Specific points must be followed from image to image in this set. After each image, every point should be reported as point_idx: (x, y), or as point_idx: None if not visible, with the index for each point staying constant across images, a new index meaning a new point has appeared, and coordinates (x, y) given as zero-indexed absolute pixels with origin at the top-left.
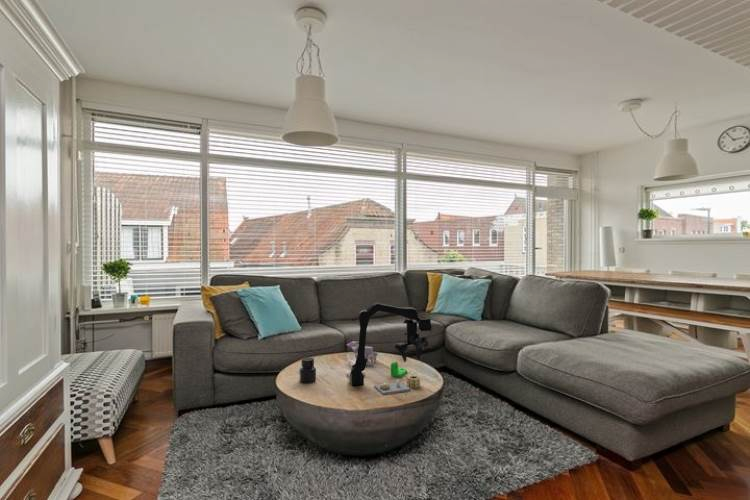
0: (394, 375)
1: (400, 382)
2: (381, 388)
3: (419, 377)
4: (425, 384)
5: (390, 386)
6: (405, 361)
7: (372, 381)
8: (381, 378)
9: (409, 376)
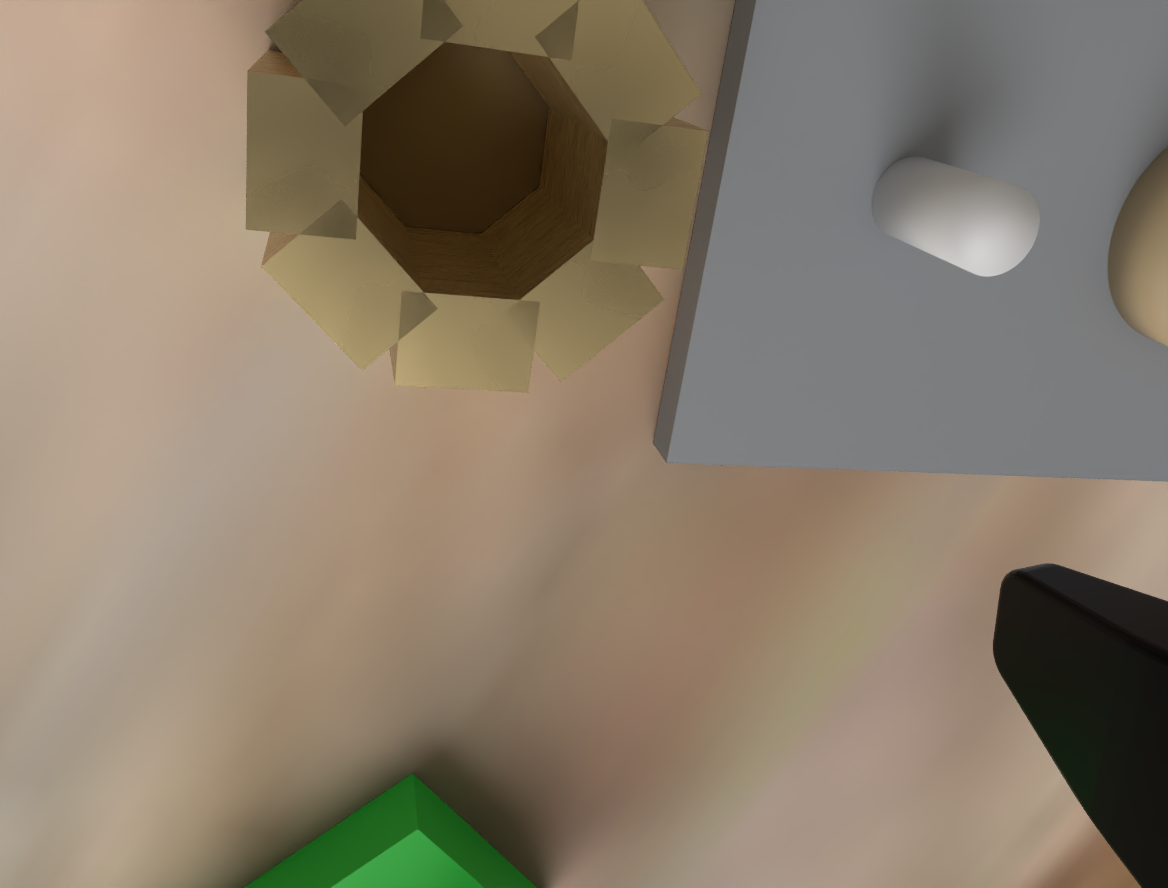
0: (504, 875)
1: (691, 414)
2: None
3: (272, 75)
4: (28, 77)
5: (1057, 264)
6: (1079, 573)
7: (1005, 742)
8: (776, 834)
9: (550, 335)
